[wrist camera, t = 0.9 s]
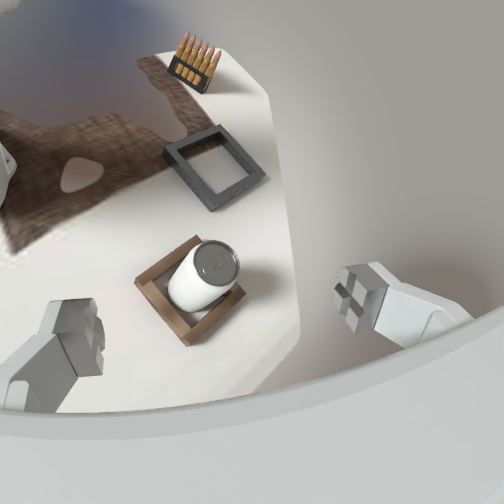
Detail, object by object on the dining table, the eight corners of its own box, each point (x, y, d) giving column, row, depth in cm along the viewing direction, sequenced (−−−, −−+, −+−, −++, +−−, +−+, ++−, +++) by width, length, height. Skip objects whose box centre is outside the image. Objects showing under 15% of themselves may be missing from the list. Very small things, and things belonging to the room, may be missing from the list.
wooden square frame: (134, 283, 42) (136, 277, 40) (191, 241, 49) (196, 234, 47) (186, 346, 42) (191, 344, 40) (239, 298, 49) (246, 293, 47)
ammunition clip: (205, 91, 64) (226, 51, 55) (201, 94, 63) (222, 53, 54) (171, 68, 63) (188, 28, 53) (166, 71, 62) (183, 30, 52)
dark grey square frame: (161, 154, 52) (164, 146, 51) (216, 130, 61) (220, 124, 59) (210, 212, 52) (214, 206, 51) (261, 180, 61) (266, 174, 59)
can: (158, 287, 43) (177, 257, 34) (189, 262, 47) (217, 227, 37) (188, 322, 44) (217, 302, 34) (217, 294, 47) (253, 267, 38)
